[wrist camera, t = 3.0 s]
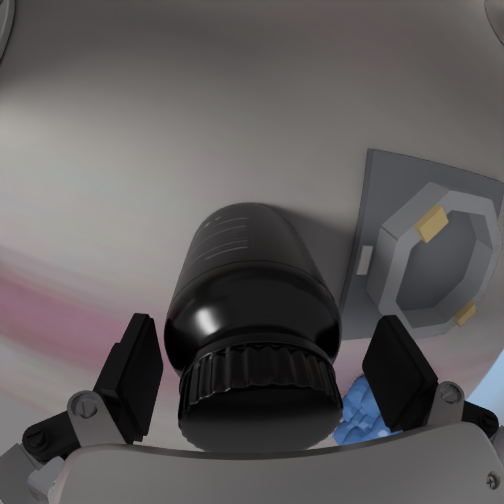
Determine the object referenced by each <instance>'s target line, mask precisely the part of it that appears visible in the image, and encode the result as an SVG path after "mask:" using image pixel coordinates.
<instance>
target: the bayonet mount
mask: <svg viewBox="0 0 504 504" xmlns="http://www.w3.org/2000/svg"><path fill="white" fill-rule="evenodd" d="M503 194H504V183H502V182H500V181H497V180H494V179H491V178H488V177H485V176H482V175H479V174H475V173H472V172H469V171H466V170H462V169H459V168H455V167H451V166H448V165H444V164H440V163H436V162H432V161H428V160H424V159H420V158H415V157H411V156H406V155H401V154H396V153H391V152H386V151H380V150H375V149H369V148H368V152H367V161H366V169H365V177H364V184H363V191H362V198H361V204H360V211H359V217H358V222H357V228H356V233H355V239H354V244H353V249H352V254H351V259H350V263H349V268H348V273H347V277H346V281H345V286H344V290H343V294H342V298H341V302H340V306H339V313H340V317H341V321H342V340H351V339H361V338H371V337H373V334H374V331H375V329H376V326H377V323H378V320H379V319H381V318H382V317H383V316H384V315H397V316H398V318H399V319H400V321H401V322H402V324H403V325H404V327H405V328H406V329H407V331H408V332H409V334H410V335H411V337H412V338H413V340H414V339H419V338H425V337H430V336H436V335H441V334H444V333H446V332H447V331H448V330H449V329H451V328H452V327H453V326H454V325H455V324H458V326H459V327H461V326H462V325H463V324H464V323H466V322H467V321H468V320H469V319H470V318H471V317H472V316H473V315H474V314H475V313H476V312H477V310H476V306H475V305H476V304H477V303H478V302H479V301H480V300H481V299H482V298H483V296H484V294H485V292H486V290H487V287H488V285H489V282H490V280H491V277H492V275H493V272H494V269H495V266H496V264H497V261H498V258H499V255H500V252H501V249H502V240H501V235H500V230H499V226H498V217H499V213H500V208H501V204H502V199H503Z"/></svg>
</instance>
